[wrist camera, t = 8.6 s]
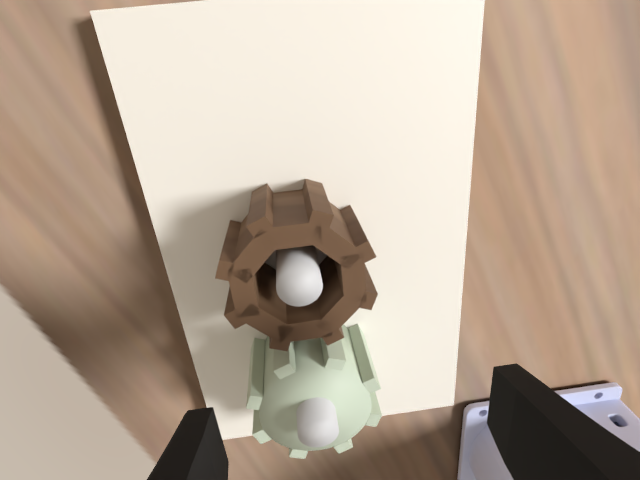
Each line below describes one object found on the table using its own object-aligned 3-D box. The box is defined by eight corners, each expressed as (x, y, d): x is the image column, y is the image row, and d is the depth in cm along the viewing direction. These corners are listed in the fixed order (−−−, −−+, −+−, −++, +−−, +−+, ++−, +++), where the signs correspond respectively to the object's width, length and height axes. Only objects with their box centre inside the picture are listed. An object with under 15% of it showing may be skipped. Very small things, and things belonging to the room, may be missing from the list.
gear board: (473, -21, 14) (579, -61, 9) (446, 391, 23) (494, 484, 18) (102, 13, 14) (1, -10, 9) (218, 424, 22) (202, 532, 17)
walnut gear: (354, 172, 16) (374, 202, 13) (361, 288, 18) (379, 338, 15) (216, 189, 15) (201, 223, 12) (241, 305, 18) (234, 359, 15)
